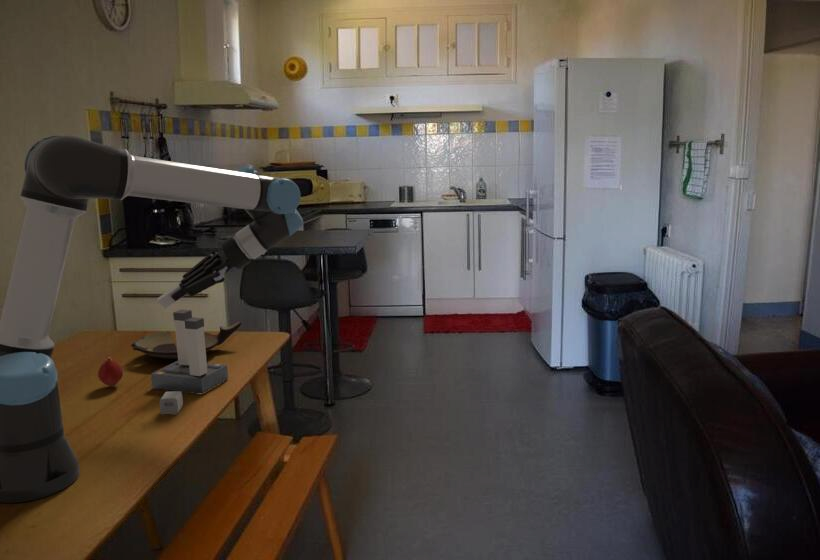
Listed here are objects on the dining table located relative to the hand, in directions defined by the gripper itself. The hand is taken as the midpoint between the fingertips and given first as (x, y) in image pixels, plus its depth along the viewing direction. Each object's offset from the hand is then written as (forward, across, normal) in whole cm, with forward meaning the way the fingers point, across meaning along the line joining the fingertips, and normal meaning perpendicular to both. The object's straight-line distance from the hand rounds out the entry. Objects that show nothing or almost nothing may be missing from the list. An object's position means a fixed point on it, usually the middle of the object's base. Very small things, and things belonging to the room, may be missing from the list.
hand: (161, 303), depth 160 cm
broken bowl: (+14, +25, -30) cm, 41 cm away
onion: (+27, +6, -14) cm, 31 cm away
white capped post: (+9, +6, -21) cm, 23 cm away
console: (+10, 0, -23) cm, 25 cm away
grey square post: (+5, -3, -20) cm, 21 cm away
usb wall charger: (+11, -14, -17) cm, 25 cm away
